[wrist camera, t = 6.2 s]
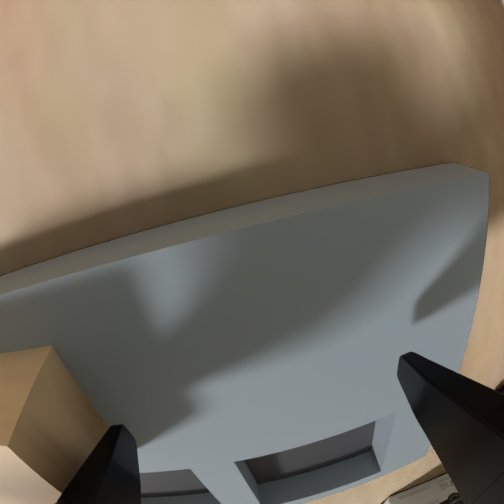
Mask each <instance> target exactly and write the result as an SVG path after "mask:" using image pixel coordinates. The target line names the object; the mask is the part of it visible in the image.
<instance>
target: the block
mask: <svg viewBox="0 0 504 504" xmlns="http://www.w3.org/2000/svg"><path fill="white" fill-rule="evenodd" d="M108 428H109V426H108V425H107V423H106V422H105V421H104V420H103V418H102V417H101V416H100V415H99V413H98V412H97V411H96V409H95V408H94V407H93V405H92V404H91V403H90V401H89V400H88V399H87V397H86V396H85V395H84V393H83V392H82V390H81V389H80V388H79V386H78V385H77V383H76V382H75V380H74V379H73V377H72V376H71V374H70V373H69V371H68V370H67V368H66V367H65V365H64V364H63V362H62V361H61V359H60V357H59V356H58V354H57V353H56V351H55V349H54V348H53V346H47V347H40V348H34V349H27V350H21V351H14V352H7V353H0V504H55V503H57V500H58V498H59V497H60V496H61V494H62V493H63V491H64V490H65V488H66V487H67V486H68V484H69V483H70V481H71V480H72V479H73V477H74V476H75V474H76V473H77V472H78V470H79V469H80V467H81V466H82V464H83V463H84V462H85V460H86V459H87V457H88V456H89V455H90V453H91V452H92V450H93V449H94V448H95V446H96V445H97V444H98V442H99V441H100V439H101V438H102V437H103V435H104V434H105V432H106V431H107V430H108Z"/></svg>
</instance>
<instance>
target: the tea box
mask: <svg viewBox="0 0 504 504" xmlns="http://www.w3.org/2000/svg"><path fill="white" fill-rule="evenodd" d="M383 504H464V503H463V501H462V499H461V497H460V495H459V493H458V491H457V489H456V488H455V486H454V484H453V482H452V480H451V479H450V477H449V475H448V473H447V474H444V475H442V476H439V477H437V478H435V479H432V480H430V481H428V482H425V483H423V484H421V485H418V486H416V487H413V488H411V489H408V490H406V491H403V492H400V493H398V494H395V495H393V496H390V497H388V499H387V500H386V501H385V502H384V503H383Z"/></svg>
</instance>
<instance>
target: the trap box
mask: <svg viewBox="0 0 504 504" xmlns="http://www.w3.org/2000/svg"><path fill="white" fill-rule="evenodd" d="M489 182H490V173H487V172H484V171H481V170H477V169H474V168H471V167H467V166H463V165H460V164H456V163H447V164H441V165H435V166H429V167H423V168H417V169H411V170H406V171H400V172H395V173H389V174H384V175H379V176H374V177H368V178H363V179H358V180H353V181H348V182H343V183H339V184H334V185H329V186H324V187H320V188H315V189H310V190H306V191H301V192H297V193H292V194H288V195H283V196H279V197H275V198H270V199H266V200H262V201H258V202H253V203H249V204H245V205H241V206H237V207H233V208H229V209H225V210H221V211H217V212H213V213H209V214H205V215H201V216H197V217H193V218H190V219H186V220H182V221H178V222H175V223H171V224H167V225H163V226H160V227H156V228H153V229H149V230H145V231H142V232H138V233H135V234H131V235H128V236H124V237H121V238H117V239H114V240H111V241H107V242H104V243H101V244H97V245H94V246H91V247H87V248H84V249H81V250H78V251H74V252H71V253H68V254H65V255H62V256H59V257H55V258H52V259H49V260H46V261H43V262H40V263H37V264H34V265H31V266H28V267H25V268H22V269H19V270H16V271H13V272H10V273H7V274H5V275H2V276H0V353H7V352H14V351H21V350H27V349H34V348H40V347H47V346H53V348H54V349H55V351H56V353H57V354H58V356H59V357H60V359H61V361H62V362H63V364H64V365H65V367H66V368H67V370H68V371H69V373H70V374H71V376H72V377H73V379H74V380H75V382H76V383H77V385H78V386H79V388H80V389H81V390H82V392H83V393H84V395H85V396H86V397H87V399H88V400H89V401H90V403H91V404H92V405H93V407H94V408H95V409H96V411H97V412H98V413H99V415H100V416H101V417H102V418H103V420H104V421H105V422H106V423H107V425H108V426H109V427H110V426H111V425H117V424H123V425H124V426H125V427H126V428H127V429H128V431H129V432H130V433H131V434H132V435H133V437H134V438H135V440H136V443H137V452H138V462H139V472H140V481H141V504H302V503H305V502H309V501H312V500H316V499H319V498H323V497H326V496H329V495H332V494H335V493H338V492H341V491H344V490H347V489H350V488H353V487H355V486H358V485H361V484H363V483H366V482H368V481H371V480H373V479H376V478H378V477H381V476H383V475H385V474H388V473H390V472H392V471H394V470H397V469H399V468H401V467H403V466H405V465H407V464H409V463H411V462H413V461H415V460H417V459H419V458H421V457H423V456H425V455H426V454H427V451H428V449H429V447H430V445H431V443H430V442H429V440H428V438H427V436H426V435H425V433H424V431H423V430H422V428H421V426H420V425H419V423H418V421H417V419H416V418H415V416H414V413H413V411H412V409H411V407H410V405H409V402H408V400H407V398H406V396H405V393H404V391H403V389H402V387H401V385H400V383H399V380H398V377H397V369H398V362H399V357H400V356H401V355H403V354H405V353H407V352H410V351H412V352H415V353H417V354H419V355H421V356H423V357H425V358H427V359H429V360H431V361H434V362H436V363H438V364H440V365H442V366H444V367H446V368H448V369H450V370H453V371H455V372H457V373H459V370H460V367H461V363H462V360H463V357H464V353H465V350H466V346H467V342H468V338H469V335H470V331H471V326H472V322H473V318H474V313H475V309H476V304H477V299H478V294H479V288H480V282H481V276H482V270H483V263H484V255H485V247H486V237H487V226H488V211H489Z"/></svg>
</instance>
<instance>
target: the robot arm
mask: <svg viewBox="0 0 504 504" xmlns="http://www.w3.org/2000/svg"><path fill="white" fill-rule="evenodd" d="M397 377H398V380H399V383H400V385H401V387H402V389H403V391H404V393H405V396H406V398H407V400H408V402H409V405H410V407H411V409H412V411H413V413H414V416H415V418H416V419H417V421H418V423H419V425H420V426H421V428H422V430H423V431H424V433H425V435H426V436H427V438H428V440H429V442H430V443H431V445H432V447H433V448H434V450H435V452H436V454H437V455H438V457H439V459H440V461H441V462H442V464H443V466H444V468H445V470H446V471H447V473H448V475H449V477H450V479H451V480H452V482H453V484H454V486H455V488H456V489H457V491H458V493H459V495H460V497H461V499H462V501H463V503H464V504H504V388H502V389H501V390H500V391H498V392H497V391H495V390H493V389H491V388H489V387H487V386H485V385H482V384H480V383H478V382H476V381H474V380H472V379H470V378H467V377H465V376H463V375H461V374H459V373H457V372H455V371H453V370H450V369H448V368H446V367H444V366H442V365H440V364H438V363H436V362H434V361H431V360H429V359H427V358H425V357H423V356H421V355H419V354H417V353H415V352H412V351H410V352H407V353H405V354H403V355H401V356H400V357H399V362H398V369H397ZM55 504H141V481H140V472H139V462H138V452H137V443H136V440H135V438H134V437H133V435H132V434H131V433H130V432H129V431H128V429H127V428H126V427H125V426H124V425H123V424H117V425H111V426H110V427H109V428H108V430H107V431H106V432H105V434H104V435H103V437H102V438H101V439H100V441H99V442H98V444H97V445H96V446H95V448H94V449H93V450H92V452H91V453H90V455H89V456H88V457H87V459H86V460H85V462H84V463H83V464H82V466H81V467H80V469H79V470H78V472H77V473H76V474H75V476H74V477H73V479H72V480H71V481H70V483H69V484H68V486H67V487H66V488H65V490H64V491H63V493H62V494H61V496H60V497H59V498H58V500H57V503H55Z"/></svg>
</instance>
